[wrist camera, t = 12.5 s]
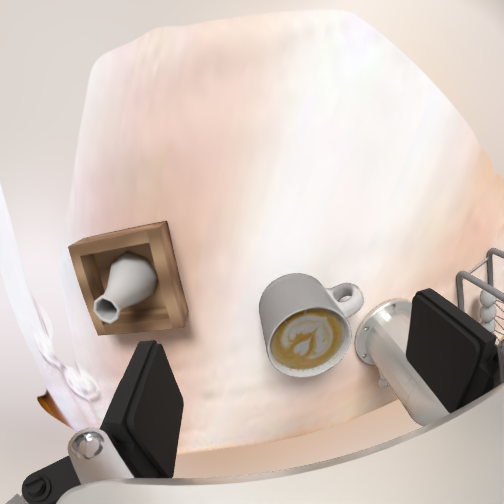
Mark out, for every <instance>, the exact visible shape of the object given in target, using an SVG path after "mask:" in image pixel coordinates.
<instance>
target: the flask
mask: <svg viewBox="0 0 504 504" xmlns="http://www.w3.org/2000/svg"><path fill="white" fill-rule="evenodd" d="M157 280H158V275H157V272H156V271H155V270H154V268H153V267H152V265H151V264H150V263H149V261H148V260H147V258H145V257H142V256H140V255H137V254H134V253H132V252H129V251H126V252H124V253H123V254H122V255H120V256H119V257H118V258H116V259H115V260H114V261H113V262H112V265H111V269H110V274H109V280H108V286H107V289H106V291H105V293H104V295H102V296H100V297H99V298H98V299H96V300H95V301H94V309H93V311H94V313H95V314H96V315H97V316H98V318H99V319H100V320H102V321H104V322H106V323H109V324H112V323H113V322H115V321H116V320H118V319H119V314H120V311H121V310H122V309H123V308H126V307H128V306H132V305H136V304H139V303H141V302H142V301H144V300H145V299H147V298H148V297H150V296H151V295H153V294H154V291H155V288H156V284H157Z"/></svg>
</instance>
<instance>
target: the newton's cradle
mask: <svg viewBox="0 0 504 504" xmlns="http://www.w3.org/2000/svg"><path fill="white" fill-rule="evenodd" d="M492 254H495V255H497V256H499V257H501V258H504V252H503V251H501V250H498V249H496V248H491V249H490V250H489V251H488V254H487V258H486V259H485V260H484V261H482V262H481V263H480V264H478V265H477V266H476V267H474V268H473V269H472V270H470V271H469V272H468V273H467V272H465V271H460V272H459V273H458V274H457V288H458V301H459V309H460V310H462V311H463V312H464V297H463V283H462V279H463V278H465V279H466V280H468V281H470V282H471V283H473V284H475V285H477V286H478V287H480V288H482V289H483V290H482V291H481V294H480V301H481V303H482V305H483V306H482V307H481V310H480V316H481V319H482V322H481V323H480V324H481V325H482V326H483V327H484V328H486V329H487V330H488V331H490V332H491V333H492V334H494V333H493V332H494V331H496V330H495V322H494V320H495V319H494V318H495V316H496V307H495V306H494V305H493V304H494V303H495V302H496V301H498V300H496V299H497V298H498V299H499V300H501V301H503V302H504V293H502V292H501V291H499V290H497V289H495V288H494V287H493V263H492ZM485 261H488V283H489V284H487V283H485V282H483V281H482V280H480V279H478V278H476V277H474V276H473V275H471V274H470V273H471V272H472V271H474V270H475V269H476V268H478V267H479V266H480V265H482V264H483V263H484V262H485ZM501 301H499V302H501ZM503 302H501V303H503ZM495 304H496V303H495ZM496 305H497V304H496ZM497 306H498V305H497ZM498 307H499V306H498ZM499 308H500V307H499ZM500 309H501V308H500ZM501 310H502V309H501ZM502 311H503V310H502ZM503 312H504V311H503ZM496 317H498V316H496ZM498 318H500V317H498ZM493 319H494V320H493ZM501 319H503V318H501ZM503 320H504V319H503ZM495 321H496V320H495ZM496 322H497V321H496ZM497 323H498V322H497ZM498 324H499V323H498ZM499 325H500V324H499ZM500 326H501V325H500ZM501 328H502V329H503V327H502V326H501ZM503 330H504V329H503ZM496 332H498V331H496ZM498 333H500V332H498ZM500 334H502V333H500ZM494 335H495V334H494ZM502 335H504V334H502ZM495 336H496V335H495ZM497 339H498V338H497ZM498 340H499V339H498ZM499 342H500V340H499ZM495 345H496V344H495ZM496 346H498V345H496Z"/></svg>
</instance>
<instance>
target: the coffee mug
mask: <svg viewBox="0 0 504 504" xmlns="http://www.w3.org/2000/svg"><path fill="white" fill-rule="evenodd" d="M345 296H351V297H350V298H349V299H348V300H347V301H345V302H338V301H339V300H340V299H341V298H343V297H345ZM363 303H364V297H363V294H362V292H361V290H360V289H359V288H358V287H357V286H356V285H354V284H351V283H343V284H340V285H338V286H335V287H333V288H330V289H328V288H325V287H324V286H322V284H321V283H320V282H319V281H318V280H317V279H315V278H313V277H312V276H309V275H306V274H301V273H293V274H288V275H284V276H282V277H279V278H278V279H276V280H274V281H273V282H272V283H271V284H270V285H269V286H268V287H267V288H266V289H265V291H264V292H263V294H262V296H261V299H260V303H259V313H260V318H261V323H262V328H263V334H264V339H265V344H266V349H267V354H268V357H269V359H270V361H271V363H272V365H273V366H274V367H275V368H276V369H277V370H279V371H280V372H282V373H284V374H286V375H289V376H293V377H311V376H315V375H318V374H321V373H323V372H326V371H327V370H329V369H331V368H332V367H333V366H335V365H336V364H337V363H338V362H339V361H340V360H341V359H342V358H343V357H344V355H345V354H346V352H347V350H348V348H349V345H350V342H351V327H350V324H349V322H348V320H347V318H348V317H350V316H352V315H353V314H355V313H356V312H358V311H359V310H360V309H361V307H362V306H363Z"/></svg>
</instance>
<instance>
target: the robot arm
mask: <svg viewBox="0 0 504 504" xmlns="http://www.w3.org/2000/svg"><path fill="white" fill-rule="evenodd" d="M496 338H497V337H496V336H495V335H493V334H492V333H491V332H490V331H488V330H487V329H486V328H484V327H483V326H482V325H481V324H479V323H478V322H477V321H475V320H474V319H473V318H471V317H470V316H469V315H467V314H466V313H465V312H463V311H462V310H460V309H459V308H458V307H456V306H455V305H454V304H452V303H451V302H449V301H448V300H447V299H445V298H444V297H442V296H441V295H440V294H438V293H437V292H435V291H434V290H432V289H431V288H428V289H425V290H421V291H418V292H417V293H416V295H415V296H414V297H413V300H412V303H411V302H410V301H408V300H405V299H393V300H389V301H386V302H384V303H382V304H380V305H379V306H377V307H376V308H375V309H373V310H372V311H371V312H370V313H369V314H368V315H367V316H366V317H365V319H364V320H363V321H362V323H361V325H360V327H359V329H358V331H357V334H356V339H355V348H356V351H357V353H358V355H359V357H360V358H361V359H362V360H363V361H364V362H365V363H367V364H370V365H376V366H377V367H378V369H379V370H378V371H379V373H380V376H379V382H378V385H379V386H380V387H386V386H388V384H390V386H391V387H392V389H393V390H394V392H395V393H396V395H397V396H398V398H399V399H400V401H401V402H402V404H403V406H404V407H405V409H406V410H407V411H408V413H409V415H410V416H411V418H412V419H413V420H414V421H415V422H416V423H418V424H420V425H421V426H424V427H422V428H420V429H417V430H415V431H413V432H410V433H408V434H406V435H403V436H401V437H398V438H396V439H393V440H391V441H388V442H385V443H382V444H379V445H377V446H374V447H371V448H368V449H365V450H362V451H359V452H356V453H352V454H349V455H345V456H342V457H338V458H334V459H331V460H327V461H323V462H318V463H314V464H310V465H305V466H300V467H295V468H290V469H284V470H279V471H272V472H265V473H258V474H250V475H240V476H228V477H213V478H189V479H188V478H186V479H185V478H180V479H179V478H175V479H174V478H172V477H173V474H174V467H175V459H176V453H177V446H178V439H179V432H180V426H181V419H182V413H183V407H184V402H183V398H182V395H181V393H180V390H179V388H178V385H177V383H176V380H175V378H174V375H173V373H172V370H171V368H170V365H169V362H168V360H167V357H166V354H165V351H164V349H163V346H162V345H161V344H157V342H156V341H155V340H152V341H141V342H139V343H138V345H137V347H136V350H135V352H134V354H133V356H132V358H131V360H130V362H129V365H128V367H127V369H126V371H125V373H124V376H123V378H122V379H121V381H120V383H119V385H118V387H117V390H116V392H115V394H114V396H113V399H112V401H111V403H110V406H109V408H108V410H107V413H106V415H105V417H104V420H103V422H102V425H101V427H100V429H97V428H87V429H84V430H81V431H79V432H78V433H76V434H75V435H74V436H73V437H72V438H71V440H70V441H69V444H68V453H69V456H67V457H65V458H63V459H61V460H59V461H57V462H55V463H53V464H51V465H49V466H47V467H45V468H43V469H41V470H38V471H36V472H34V473H32V474H31V475H29V476H28V477H27V478H26V479H25V480H24V482H23V485H22V496H20V495H18V494H16V495H15V496H14V497H13V498H12V499H11V500H10V501H8V502H7V503H6V504H504V339H503V340H502V341H500V342H499V344H498V347H497V346H496V345H495V341H496Z"/></svg>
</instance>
